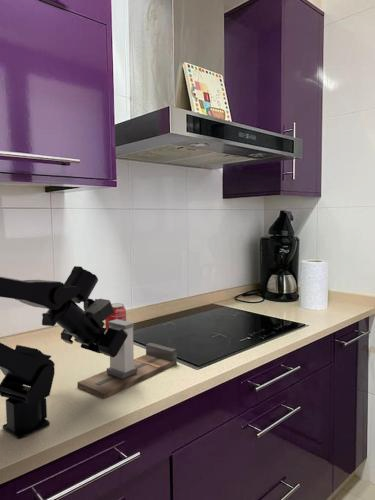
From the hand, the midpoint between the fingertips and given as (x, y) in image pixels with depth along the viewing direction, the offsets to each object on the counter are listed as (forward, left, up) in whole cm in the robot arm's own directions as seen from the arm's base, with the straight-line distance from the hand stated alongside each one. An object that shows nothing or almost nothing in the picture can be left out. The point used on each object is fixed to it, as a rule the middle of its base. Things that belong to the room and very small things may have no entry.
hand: (112, 352), depth 93 cm
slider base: (+6, 0, -7) cm, 10 cm away
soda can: (+24, +26, -8) cm, 36 cm away
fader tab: (+3, 0, -6) cm, 7 cm away
